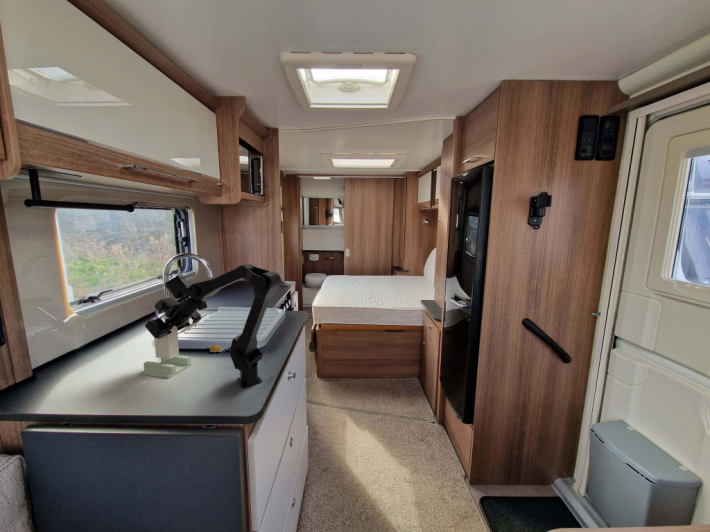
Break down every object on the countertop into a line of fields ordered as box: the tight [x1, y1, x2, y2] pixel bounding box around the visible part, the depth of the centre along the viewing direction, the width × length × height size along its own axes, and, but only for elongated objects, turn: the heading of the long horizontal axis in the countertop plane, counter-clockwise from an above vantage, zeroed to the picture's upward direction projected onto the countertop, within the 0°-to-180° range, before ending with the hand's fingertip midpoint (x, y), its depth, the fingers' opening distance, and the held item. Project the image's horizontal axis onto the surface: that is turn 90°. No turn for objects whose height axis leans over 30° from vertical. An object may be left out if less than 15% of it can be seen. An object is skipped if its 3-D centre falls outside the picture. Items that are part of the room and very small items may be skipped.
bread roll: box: [209, 345, 226, 354], centre depth 120 cm, size 8×9×4 cm
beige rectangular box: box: [153, 318, 180, 359], centre depth 100 cm, size 6×4×13 cm, turn 77°
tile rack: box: [140, 354, 195, 380], centre depth 101 cm, size 12×11×4 cm
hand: (163, 335), depth 100 cm, fingers closed on beige rectangular box, 4 cm apart
